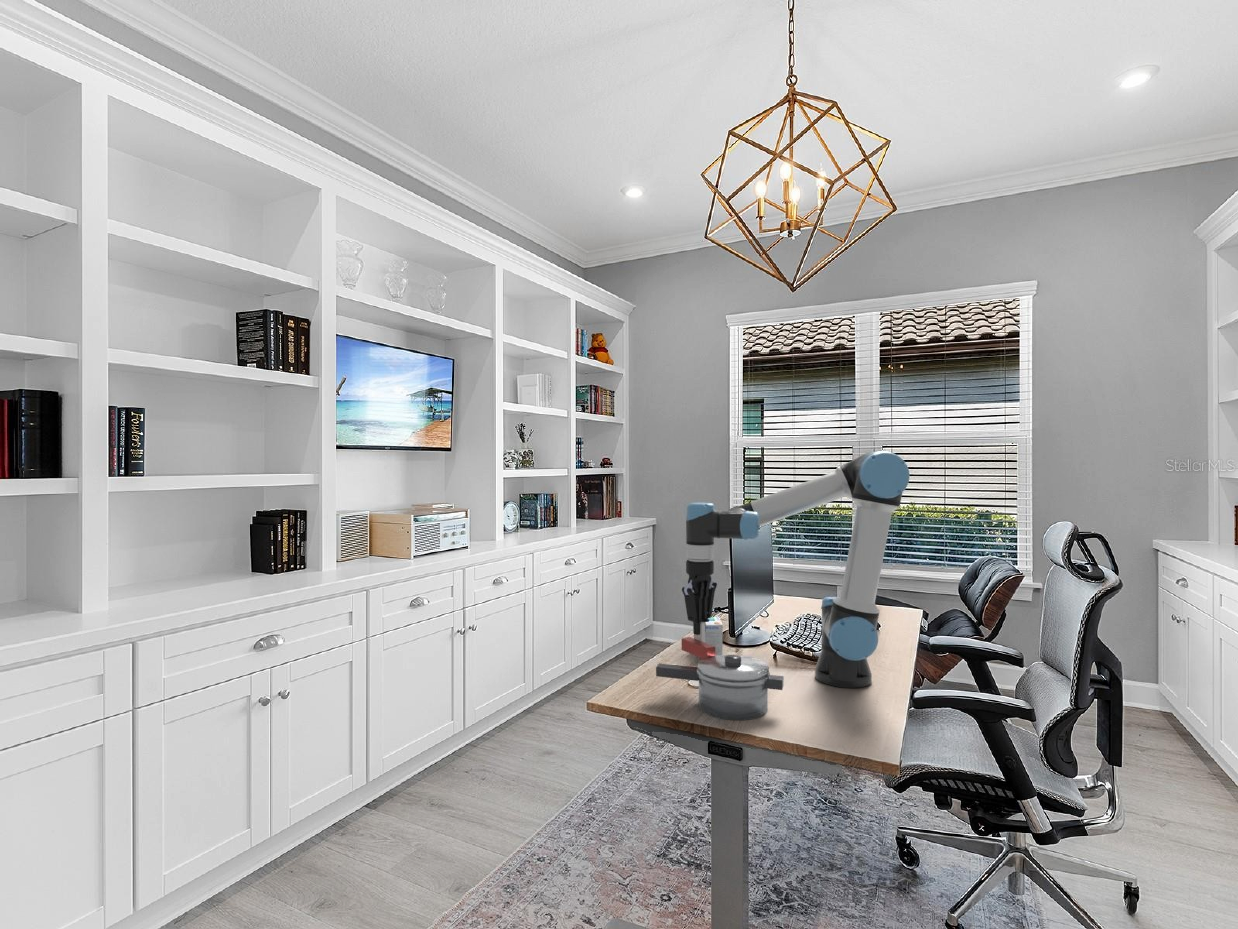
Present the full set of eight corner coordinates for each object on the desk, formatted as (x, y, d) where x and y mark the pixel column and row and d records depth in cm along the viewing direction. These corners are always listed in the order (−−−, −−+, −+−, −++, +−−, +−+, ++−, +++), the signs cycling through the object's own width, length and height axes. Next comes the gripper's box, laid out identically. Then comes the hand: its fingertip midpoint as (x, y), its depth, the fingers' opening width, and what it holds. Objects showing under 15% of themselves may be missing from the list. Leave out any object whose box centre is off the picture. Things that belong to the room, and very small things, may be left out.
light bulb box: (698, 649, 218) (698, 616, 218) (719, 649, 218) (719, 616, 218) (701, 659, 208) (701, 624, 208) (723, 659, 207) (723, 624, 207)
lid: (784, 673, 165) (784, 659, 165) (729, 686, 155) (729, 671, 155) (710, 646, 189) (710, 633, 189) (659, 655, 180) (659, 642, 180)
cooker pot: (785, 700, 172) (786, 665, 172) (779, 727, 155) (779, 688, 155) (666, 686, 182) (666, 653, 182) (648, 710, 165) (648, 673, 165)
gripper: (703, 555, 190) (702, 638, 190) (674, 560, 180) (673, 647, 181) (725, 558, 185) (724, 643, 185) (696, 563, 175) (695, 653, 176)
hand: (699, 645), depth 183 cm, fingers closed
